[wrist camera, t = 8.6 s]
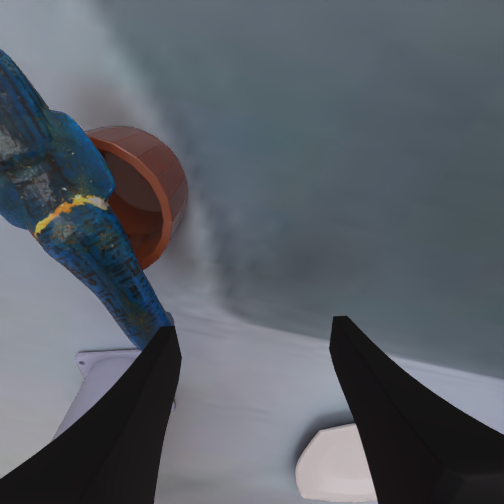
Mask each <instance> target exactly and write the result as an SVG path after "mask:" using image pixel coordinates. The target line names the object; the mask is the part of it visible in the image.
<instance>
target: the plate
mask: <svg viewBox="0 0 504 504" xmlns="http://www.w3.org/2000/svg"><path fill="white" fill-rule="evenodd" d="M295 478H296V484H297V487H298V490H299V492H300V494H301V497H302V498H307V499H315V500H323V501H334V502H364V501H374V500H377V496H376V493H375V489H374V485H373V481H372V477H371V474H370V470H369V467H368V463H367V459H366V456H365V452H364V449H363V446H362V442H361V439H360V435H359V432H358V429H357V426H356V423H351V424H346V425H341V426H336V427H331V428H329V429H324V430H319V431H318V433H317V434H316V435H315V436H314V437H313V439H312V440H311V441H310V443H309V444H308V445H307V447H306V448H305V449H304V451H303V453H302V454H301V456H300V458H299V460H298V462H297V465H296V469H295Z"/></svg>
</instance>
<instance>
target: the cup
mask: <svg viewBox="0 0 504 504" xmlns="http://www.w3.org/2000/svg"><path fill="white" fill-rule="evenodd" d="M84 132H85V134H86V135H87V136H88V137H89V138H90V140H91V141H92V142H93V144H94V145H95V147H96V148H97V149H98V151H99V152H100V153H101V155H102V156H103V158H104V160H105V161H106V163H107V165H108V167H109V169H110V171H111V173H112V175H113V178H114V181H115V189H114V192H113V193H112V195H111V196H110V197H109V200H108V202H107V203H108V204H109V205H110V206H111V208H112V209H113V211H114V213H115V214H116V216H117V218H118V219H119V221H120V223H121V224H122V226H123V228H124V230H125V232H126V234H127V236H128V238H129V240H130V243H131V245H132V248H133V250H134V253H135V255H136V258H137V260H138V262H139V264H140V266H141V268H142V270H144V269H146V268H147V267H149V266H150V265H151V264H153V263H154V262H155V261H156V260H158V259H159V258H160V257H161V255H162V254H163V252H164V250H165V248H166V247H167V245H168V243H169V242H170V240H171V237H172V235H173V233H174V231H175V229H176V227H177V225H178V223H179V221H180V219H181V217H182V215H183V213H184V210H185V206H186V203H187V196H188V188H187V181H186V177H185V174H184V171H183V168H182V166H181V164H180V162H179V161H178V159H177V158H176V156H175V155H174V154H173V152H172V151H171V150H170V149H169V148H168V147H167V146H166V145H165V144H164V143H163V142H161V141H160V140H159V139H157V138H156V137H154V136H153V135H151V134H149V133H147V132H145V131H142V130H140V129H136V128H133V127H127V126H110V127H101V128H96V129H92V130H87V131H84ZM29 232H30V233H31V234H32V235H33V236H34V234H33V233H32V232H31V231H30V230H29ZM34 238H35V239H36V237H35V236H34ZM36 240H37V239H36ZM37 241H38V240H37ZM39 244H40V243H39ZM40 245H41V244H40Z"/></svg>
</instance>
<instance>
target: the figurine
mask: <svg viewBox="0 0 504 504" xmlns="http://www.w3.org/2000/svg"><path fill="white" fill-rule="evenodd" d="M114 189H115V181H114V178H113V175H112V173H111V171H110V169H109V167H108V165H107V163H106V161H105V160H104V158H103V156H102V155H101V153H100V152H99V151H98V149H97V148H96V147H95V145H94V144H93V142H92V141H91V140H90V138H89V137H88V136H87V135H86V134H85V132H84V131H83V130H82V129H81V128H80V126H79V125H78V124H77V123H76V122H75V121H74V120H73V119H72V118H71V117H70V116H69V115H67V114H66V113H63V112H60V111H54V110H50V109H49V107H48V106H47V105H46V103H45V102H44V100H43V99H42V98H41V96H40V94H39V93H38V92H37V91H36V89H35V88H34V87H33V85H32V84H31V83H30V81H29V80H28V79H27V77H26V76H25V75H24V74H23V72H22V71H21V70H20V69H19V67H18V66H17V65H16V64H15V63H14V61H13V60H12V59H11V58H10V57H9V56H8V55H7V54H6V53H5V52H4V51H2V50H1V49H0V214H1V215H2V216H3V217H4V218H5V219H6V220H7V221H8V222H9V223H10V224H12V225H14V226H16V227H19V228H22V229H25V230H30V231H31V232H32V233H33V234H34V236H35V237H36V239H37V240H38V242H39V243H40V244H41V246H42V247H43V249H44V250H45V251H46V252H47V253H48V254H49V255H50V256H51V257H52V258H54V259H55V260H56V261H58V262H59V263H60V264H62V265H63V266H64V267H65V268H67V269H68V270H69V271H70V272H71V273H72V274H73V275H74V276H75V277H76V278H77V279H79V280H80V281H81V282H82V283H84V284H85V285H86V286H87V287H88V288H89V289H90V290H91V291H92V292H93V293H94V294H95V295H96V296H97V297H98V298H99V299H100V300H101V302H102V303H103V304H104V305H105V307H106V308H107V310H108V311H109V313H110V314H111V315H112V316H113V318H114V319H115V321H116V322H117V323H118V325H119V326H120V328H121V329H122V330H123V332H124V333H125V334H126V336H127V337H128V338H129V339H130V340H131V341H132V343H133V344H134V345H135V346H136V347H137V348H138V349H139V350H140V351H143V349H144V348H145V347H146V345H147V344H148V343H149V341H150V340H151V339H152V337H153V336H154V335H155V333H156V332H157V330H158V329H159V328H160V327H161V326H174V319H173V317H172V315H171V313H169V312H166V311H165V310H164V308H163V306H162V305H161V303H160V302H159V300H158V298H157V296H156V294H155V292H154V289H153V288H152V286H151V284H150V282H149V280H148V279H147V277H146V275H145V274H144V272H143V270H142V268H141V266H140V264H139V262H138V260H137V258H136V255H135V253H134V250H133V248H132V245H131V243H130V240H129V238H128V236H127V234H126V232H125V230H124V228H123V226H122V224H121V223H120V221H119V219H118V218H117V216H116V214H115V213H114V211H113V209H112V208H111V206H110V205H109V204H108V203H107V202H108V200H109V197H110V196H111V195H112V193H113V192H114Z"/></svg>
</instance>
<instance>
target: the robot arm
mask: <svg viewBox="0 0 504 504" xmlns="http://www.w3.org/2000/svg"><path fill="white" fill-rule="evenodd" d="M329 350H330V354H331V358H332V362H333V365H334V369H335V372H336V375H337V377H338V380H339V382H340V385H341V388H342V390H343V393H344V395H345V398H346V400H347V403H348V405H349V408H350V410H351V413H352V415H353V418H354V421H355V423H356V426H357V429H358V432H359V435H360V439H361V442H362V446H363V449H364V452H365V456H366V459H367V463H368V467H369V470H370V474H371V477H372V481H373V485H374V489H375V493H376V496H377V500H378V504H504V435H503V434H501V433H499V432H498V431H496V430H494V429H492V428H490V427H488V426H486V425H485V424H483V423H481V422H479V421H478V420H476V419H474V418H473V417H471V416H469V415H468V414H466V413H464V412H463V411H461V410H459V409H458V408H456V407H455V406H453V405H451V404H450V403H448V402H447V401H445V400H444V399H442V398H441V397H439V396H438V395H436V394H435V393H433V392H432V391H431V390H429V389H428V388H426V387H425V386H424V385H422V384H421V383H420V382H418V381H417V380H416V379H414V378H413V377H412V376H410V375H409V374H408V373H407V372H405V371H404V370H403V369H402V368H401V367H399V366H398V365H397V364H396V363H395V362H394V361H392V360H391V359H390V358H389V357H388V356H387V355H386V354H385V353H384V352H383V351H382V350H381V349H379V348H378V347H377V346H376V345H375V344H374V343H373V342H372V341H371V340H370V339H369V338H368V337H367V336H366V335H365V334H364V333H363V332H362V331H361V330H360V329H359V328H358V327H357V326H356V325H355V324H354V323H353V322H352V320H351V319H350V318H349V317H348V316H333V323H332V331H331V338H330V346H329ZM75 360H76V362H77V364H78V366H79V368H80V371H81V373H82V375H83V377H84V379H85V381H84V383H83V384H82V386H81V388H80V390H79V392H78V393H77V395H76V397H75V399H74V401H73V403H72V404H71V406H70V408H69V410H68V412H67V414H66V415H65V417H64V419H63V421H62V423H61V424H60V426H59V428H58V430H57V432H56V434H55V435H54V437H53V439H52V441H51V443H49V444H48V445H47V446H45V447H44V448H43V449H42V450H40V451H39V452H38V453H36V454H35V455H34V456H32V457H31V458H29V459H28V460H27V461H25V462H24V463H22V464H21V465H20V466H18V467H17V468H15V469H14V470H13V471H11V472H10V473H8V474H7V475H5V476H4V477H3V478H1V479H0V504H154V497H155V490H156V483H157V477H158V470H159V464H160V458H161V452H162V446H163V440H164V436H165V431H166V428H167V424H168V420H169V416H170V412H173V411H174V410H175V403H174V397H175V393H176V389H177V385H178V381H179V374H180V367H181V360H182V356H181V352H180V347H179V343H178V339H177V334H176V330H175V326H161V327H160V328H159V329H158V330H157V332H156V333H155V335H154V336H153V337H152V339H151V340H150V341H149V343H148V344H147V345H146V347H145V348H144V349H143V351H140V350H139V349H137V350H120V351H102V352H85V353H78V354H77V355H76V356H75Z"/></svg>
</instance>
